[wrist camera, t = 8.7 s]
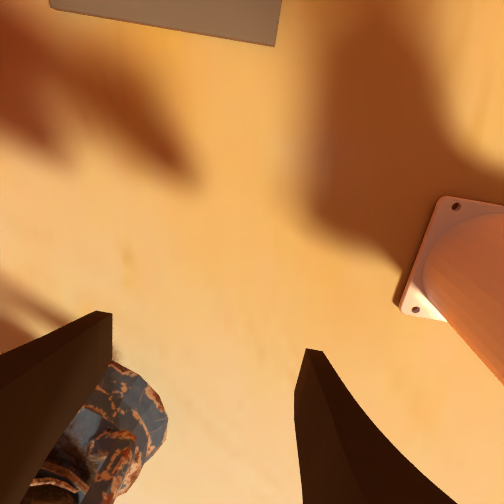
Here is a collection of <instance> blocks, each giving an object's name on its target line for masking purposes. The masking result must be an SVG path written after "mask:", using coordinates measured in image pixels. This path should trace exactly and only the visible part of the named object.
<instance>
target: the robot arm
mask: <svg viewBox="0 0 504 504" xmlns="http://www.w3.org/2000/svg"><path fill="white" fill-rule="evenodd" d="M454 203H458V207H457V208H456V209H454V210H452V205H453V204H454ZM415 306H417V309H416V310H412V308H413V307H415ZM399 310H400V311H401V312H402V313H403V314H405V315H411V316H416V317H422V318H427V319H433V320H438V321H444V322H448V323H449V324H450V325H451V326H452V328H453V329H454V330H455V331H456V332H457V333H458V334H459V335H460V337H461V338H462V339H463V340H464V341H465V342H466V343H467V345H468V346H469V347H470V348H471V349H472V350H473V351H474V352H475V354H476V355H477V356H478V357H479V358H480V359H481V360H482V362H483V363H484V364H485V365H486V366H487V367H488V368H489V369H490V371H491V372H492V373H493V374H494V375H495V376H496V377H497V379H498V380H499V381H500V382H501V383H502V384H503V385H504V206H503V205H497V204H492V203H486V202H480V201H475V200H469V199H463V198H458V197H452V196H444V197H441V198H440V199H439V200H438V202H437V204H436V206H435V209H434V212H433V214H432V217H431V220H430V222H429V225H428V228H427V230H426V233H425V236H424V239H423V241H422V244H421V247H420V249H419V252H418V255H417V257H416V260H415V263H414V265H413V268H412V271H411V273H410V276H409V279H408V281H407V284H406V287H405V289H404V292H403V295H402V298H401V300H400V303H399ZM111 360H112V313H106V312H101V311H94V312H92V313H90V314H88V315H85V316H83V317H81V318H79V319H77V320H75V321H73V322H71V323H69V324H67V325H65V326H63V327H61V328H59V329H57V330H55V331H53V332H51V333H49V334H47V335H44V336H42V337H40V338H38V339H36V340H33V341H31V342H29V343H27V344H24V345H22V346H20V347H18V348H15V349H13V350H11V351H8V352H6V353H3V354H1V355H0V504H20V502H21V500H22V499H23V497H24V495H25V493H26V492H27V490H28V488H29V486H30V485H31V483H32V481H33V480H34V478H35V476H36V475H37V473H38V471H39V469H40V468H41V466H42V464H43V463H44V461H45V459H46V458H47V456H48V454H49V453H50V451H51V450H52V448H53V447H54V445H55V444H56V442H57V441H58V439H59V438H60V437H61V435H62V434H63V432H64V431H65V430H66V428H67V427H68V426H69V424H70V423H71V421H72V420H73V419H74V417H75V416H76V415H77V413H78V412H79V410H80V409H81V408H82V406H83V405H84V403H85V402H86V401H87V399H88V398H89V396H90V395H91V394H92V392H93V391H94V389H95V388H96V387H97V385H98V384H99V382H100V380H101V378H102V377H103V375H104V373H105V371H106V369H107V367H108V365H109V364H110V362H111ZM294 421H295V431H296V440H297V449H298V457H299V466H300V475H301V483H302V496H303V504H457V503H456V502H455V501H454V500H452V499H451V498H450V497H449V496H448V495H446V494H445V493H444V492H443V491H442V490H440V489H439V488H438V487H437V486H436V485H435V484H433V483H432V482H431V481H430V480H429V479H428V478H427V477H426V476H424V475H423V474H422V473H421V472H420V471H419V470H418V469H417V468H416V467H415V466H414V465H413V464H412V463H411V462H410V461H409V460H408V459H407V458H406V457H404V456H403V455H402V454H401V453H400V452H399V451H398V449H397V448H396V447H395V446H394V445H393V444H392V443H391V442H390V441H389V440H388V439H387V438H386V437H385V436H384V434H383V433H382V432H381V431H380V430H379V429H378V428H377V427H376V425H375V424H374V423H373V422H372V421H371V420H370V418H369V417H368V416H367V415H366V413H365V412H364V411H363V410H362V408H361V407H360V406H359V404H358V403H357V402H356V400H355V399H354V398H353V396H352V395H351V393H350V392H349V391H348V389H347V388H346V386H345V385H344V383H343V382H342V380H341V379H340V377H339V376H338V374H337V373H336V371H335V370H334V368H333V367H332V365H331V364H330V362H329V360H328V359H327V357H326V356H325V354H324V353H323V351H318V350H313V349H307V348H306V350H305V354H304V358H303V361H302V365H301V369H300V372H299V376H298V380H297V384H296V387H295V391H294Z"/></svg>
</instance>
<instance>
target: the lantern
mask: <svg viewBox="0 0 504 504" xmlns="http://www.w3.org/2000/svg"><path fill="white" fill-rule="evenodd" d="M167 423H168V417H167V415H166V412H165V409H164V407H163V404H162V402H161V399H160V397H159V395H158V394H157V393H156V392H155V391H154V390H153V389H152V388H151V387H150V386H149V385H148V384H147V383H146V382H145V381H144V380H143V379H142V377H141V376H140V375H138V374H136V373H134V372H132V371H130V370H129V369H127V368H125V367H123V366H121V365H119V364H117V363H116V362H114V361H111V362H110V364H109V365H108V367H107V369H106V371H105V373H104V375H103V377H102V378H101V380H100V382H99V384H98V385H97V387H96V388H95V389H94V391H93V392H92V394H91V395H90V396H89V398H88V399H87V401H86V402H85V403H84V405H83V406H82V408H81V409H80V410H79V412H78V413H77V415H76V416H75V417H74V419H73V420H72V421H71V423H70V424H69V426H68V427H67V428H66V430H65V431H64V432H63V434H62V435H61V437H60V438H59V439H58V441H57V442H56V444H55V445H54V447H53V448H52V450H51V451H50V453H49V454H48V456H47V458H46V459H45V461H44V463H43V464H42V466H41V468H40V469H39V471H38V473H37V475H36V476H35V478H34V480H33V481H32V483H31V485H30V486H29V488H28V490H27V492H26V493H25V495H24V497H23V499H22V500H21V502H20V504H113V503H114V501H115V499H116V497H117V496H119V495H121V494H124V493H126V492H127V491H128V489H129V488H130V487H131V486H132V484H133V483H134V482H135V480H136V479H137V477H138V475H139V473H140V471H141V469H142V467H143V465H144V463H145V462H146V461H147V460H148V459H150V458H151V457H152V456H153V455H154V454H155V452H156V451H157V450H158V449H159V447H160V446H161V445H162V443H163V442H164V441H165V439H166V433H167Z"/></svg>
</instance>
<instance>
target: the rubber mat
mask: <svg viewBox="0 0 504 504" xmlns="http://www.w3.org/2000/svg"><path fill="white" fill-rule="evenodd" d="M281 3H282V0H50V7H51V8H53V9H55V10H59V11H65V12H71V13H77V14H83V15H89V16H95V17H100V18H106V19H112V20H118V21H124V22H130V23H136V24H142V25H148V26H153V27H159V28H165V29H171V30H177V31H183V32H189V33H195V34H200V35H206V36H212V37H218V38H224V39H230V40H236V41H242V42H247V43H253V44H259V45H265V46H271V47H275V40H276V34H277V28H278V22H279V16H280V9H281Z"/></svg>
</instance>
